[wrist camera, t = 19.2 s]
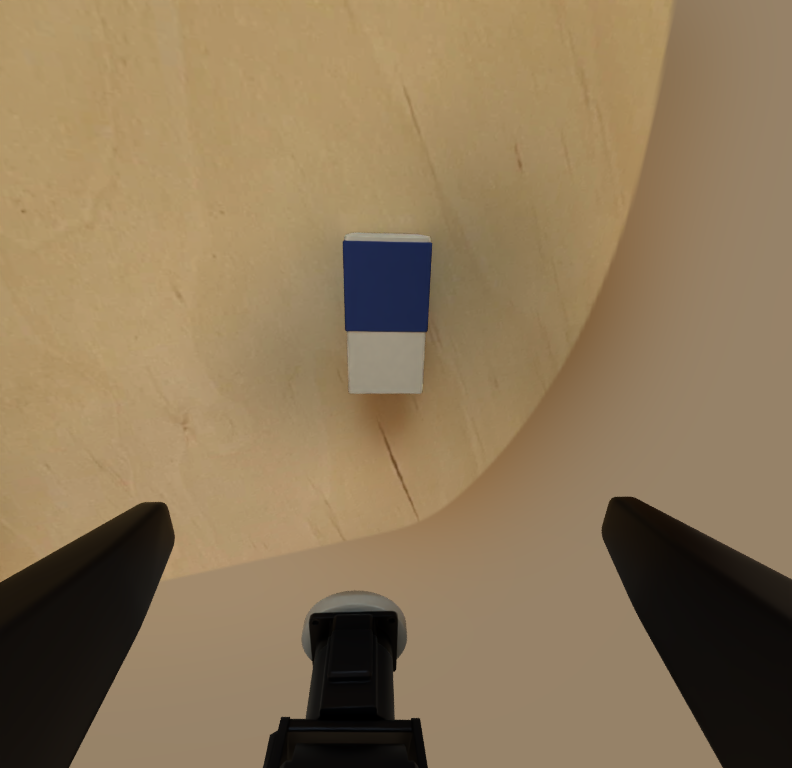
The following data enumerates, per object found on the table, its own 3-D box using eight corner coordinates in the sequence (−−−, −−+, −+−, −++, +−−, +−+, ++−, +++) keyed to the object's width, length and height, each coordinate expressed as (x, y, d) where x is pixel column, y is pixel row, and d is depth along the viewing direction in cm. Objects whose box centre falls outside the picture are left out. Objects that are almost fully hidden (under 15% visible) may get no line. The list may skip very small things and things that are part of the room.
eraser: (414, 362, 19) (424, 395, 16) (353, 361, 19) (346, 395, 15) (420, 233, 17) (432, 236, 13) (350, 232, 17) (342, 234, 13)
